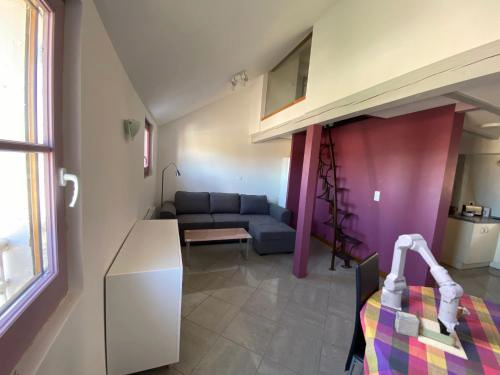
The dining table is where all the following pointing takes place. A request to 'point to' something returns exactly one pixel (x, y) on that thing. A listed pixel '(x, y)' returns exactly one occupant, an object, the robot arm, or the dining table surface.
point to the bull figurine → (461, 312)
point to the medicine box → (406, 324)
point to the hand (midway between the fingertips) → (443, 336)
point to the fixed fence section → (418, 316)
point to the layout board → (437, 344)
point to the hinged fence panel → (437, 336)
